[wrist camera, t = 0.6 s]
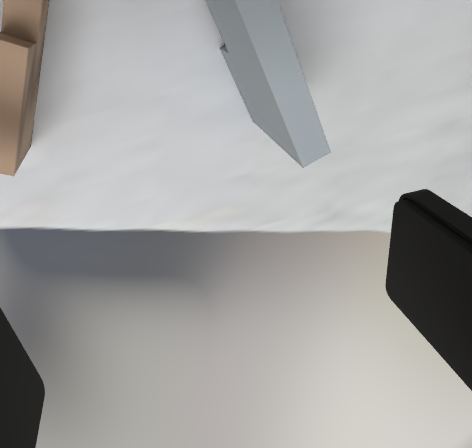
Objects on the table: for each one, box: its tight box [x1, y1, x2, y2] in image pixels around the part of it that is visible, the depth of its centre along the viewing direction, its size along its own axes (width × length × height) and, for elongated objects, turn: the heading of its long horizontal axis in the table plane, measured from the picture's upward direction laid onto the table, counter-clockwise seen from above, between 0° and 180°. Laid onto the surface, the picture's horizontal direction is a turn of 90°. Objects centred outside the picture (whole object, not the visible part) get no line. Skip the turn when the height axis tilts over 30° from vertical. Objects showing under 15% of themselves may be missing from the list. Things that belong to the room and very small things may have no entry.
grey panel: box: [206, 0, 331, 168], centre depth 25 cm, size 18×2×11 cm, turn 26°
